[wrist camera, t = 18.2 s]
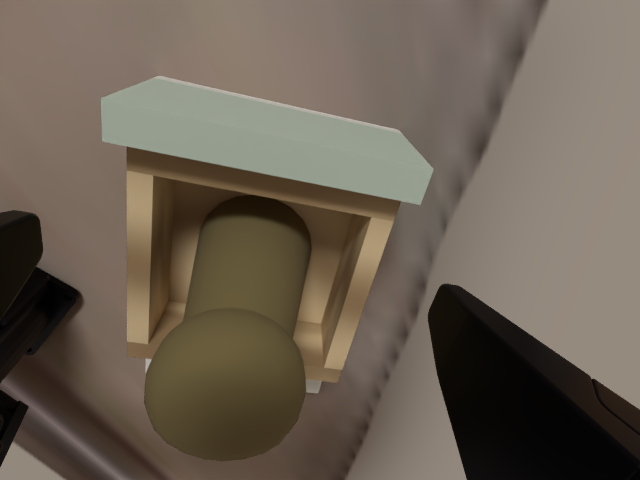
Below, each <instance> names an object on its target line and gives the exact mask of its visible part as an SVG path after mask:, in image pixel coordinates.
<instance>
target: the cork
mask: <svg viewBox="0 0 640 480" xmlns="http://www.w3.org/2000/svg"><path fill="white" fill-rule="evenodd" d="M311 251H312V246H311V237H310V233H309V231H308V229H307V227H306V224H305V222H304V220H303V219H302V218H301V217H300V216H299V215H298V214H297V213H296V212H295V211H294V210H293V209H292V208H291V207H290V206H288V205H286V204H284V203H282V202H280V201H278V200H277V199H273V198H268V197H263V196H258V195H246V196H236V197H234V198H232V199H229V200H227V201H225V202H222V203H220V204H219V205H218V206H217V207H216V208H214V209H213V210H212V211H211V212H210V213H209V214H208V215H207V217H206V219H205V221H204V222H203V224H202V226H201V228H200V232H199V238H198V243H197V248H196V254H195V259H194V264H193V270H192V275H191V280H190V286H189V291H188V296H187V302H186V307H185V312H184V318H183V321H182V322H181V323H180V324H179V325H177V326H176V327H175V328H174V329H172V330H171V331H170V332H169V334H168V335H167V336H166V337H165V338H164V339H163V340H162V342H161V343H160V345H159V347H158V349H157V351H156V353H155V354H154V356H153V358H152V360H151V362H150V365H149V367H148V369H147V372H146V380H145V396H144V404H145V407H146V410H147V413H148V416H149V419H150V421H151V423H152V425H153V428H154V430H155V431H156V432H157V433H158V434H159V435H160V436H161V437H162V438H163V439H164V440H165V441H166V442H167V443H168V444H170V445H171V446H173V447H175V448H177V449H179V450H180V451H182V452H184V453H187V454H190V455H193V456H196V457H200V458H203V459H209V460H219V461H227V460H238V459H246V458H249V457H253V456H256V455H259V454H262V453H265V452H266V451H268V450H270V449H271V448H273V447H274V446H276V445H278V444H279V443H280V442H281V441H282V440H283V438H284V437H285V436H286V435H287V434H288V433H289V431H290V430H291V429H292V427H293V426H294V425H295V423H296V422H297V420H298V417H299V414H300V411H301V408H302V404H303V401H304V397H305V394H306V377H305V370H304V362H303V359H302V356H301V353H300V350H299V348H298V346H297V345H296V343H295V341H294V340H293V336H294V331H295V326H296V322H297V317H298V312H299V308H300V303H301V298H302V293H303V289H304V284H305V279H306V274H307V270H308V265H309V260H310V255H311Z"/></svg>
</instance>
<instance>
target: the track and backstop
mask: <svg viewBox="0 0 640 480" xmlns="http://www.w3.org/2000/svg"><path fill="white" fill-rule="evenodd" d="M101 118H102V142H107V143H112V144H117V145H122V146H127V147H132V148H137V149H142V150H147V151H152V152H157V153H162V154H167V155H172V156H177V157H182V158H187V159H192V160H198V161H203V162H208V163H213V164H218V165H223V166H228V167H233V168H238V169H243V170H248V171H253V172H258V173H263V174H268V175H273V176H278V177H283V178H288V179H293V180H298V181H303V182H308V183H313V184H318V185H323V186H328V187H333V188H338V189H343V190H348V191H353V192H358V193H363V194H368V195H373V196H378V197H383V198H388V199H393V200H398V201H403V202H408V203H413V204H418V205H421V202H422V199H423V197H424V194H425V191H426V189H427V186H428V183H429V181H430V178H431V175H432V173H433V170H434V169H433V168H432V167H431V166H430V165H429V164H428V162H427V161H426V160H425V159H424V158H423V157H422V156H421V155H420V153H419V152H418V151H417V150H416V149H415V148H414V147H413V146H412V145H411V143H410V142H409V141H408V140H407V139H406V138H405V137H404V136H403V135H402V133H401V132H400V131H399V130H397V129H393V128H388V127H384V126H379V125H375V124H371V123H366V122H362V121H357V120H353V119H349V118H344V117H340V116H335V115H331V114H326V113H322V112H318V111H313V110H309V109H304V108H300V107H295V106H291V105H287V104H282V103H278V102H273V101H269V100H264V99H260V98H256V97H251V96H247V95H242V94H238V93H233V92H229V91H225V90H220V89H216V88H211V87H207V86H202V85H198V84H194V83H189V82H185V81H180V80H176V79H172V78H167V77H163V76H157V77H154V78H152V79H149V80H147V81H144V82H141V83H139V84H136V85H134V86H131V87H128V88H126V89H123V90H121V91H118V92H116V93H113V94H110V95H108V96H105V97H103V98H101ZM151 360H152V359H146V372H147V369H148V367H149V365H150V362H151ZM146 372H145V373H146ZM321 383H322V381H318V380H310V379H306V392H308V393H316V394H318V392H319V389H320V386H321Z"/></svg>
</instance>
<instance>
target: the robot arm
mask: <svg viewBox="0 0 640 480" xmlns="http://www.w3.org/2000/svg"><path fill="white" fill-rule="evenodd" d="M42 253H43V243H42V234H41V226H40V220H39V218H38V216H37V215H36V214H33V213H29V212H23V211H17V210H13V211H7V212H2V213H0V383H1V382H2V380H3V379H4V378H5V377H6V376H7V374H8V373H9V372H10V371H11V370H12V368H13V367H14V366H15V365H16V364H17V362H18V361H19V360H20V359H21V358H22V356H23V355H24V354H27V355H33V354H34V353H36V351H37V350H38V349H39V348H40V346H41V345H42V344H43V342H44V341H45V340H46V339H47V337H48V336H49V335H50V334H51V332H52V331H53V330H54V329H55V327H56V326H57V325H58V323H59V322H60V321H61V320H62V318H63V317H64V316H65V315H66V313H67V312H68V311H69V309H70V308H71V307H72V306H73V304H74V303H75V302H76V301H77V299H78V298H79V292H78V291H77V290H76V289H74V288H73V287H71V286H69V285H67V284H66V283H64V282H62V281H60V280H58V279H57V278H55V277H53V276H51V275H50V274H48V273H46V272H44V271H43V270H41V269H39V268H37V267H36V265H37V264H38V262H39V261H40V259H41V257H42ZM67 294H68V295H70V296H71V297H69V296H68V295H67ZM428 323H429V329H430V334H431V341H432V347H433V353H434V359H435V364H436V370H437V375H438V379H439V383H440V387H441V390H442V393H443V397H444V401H445V404H446V407H447V411H448V415H449V418H450V422H451V425H452V429H453V432H454V436H455V439H456V443H457V446H458V450H459V453H460V457H461V460H462V464H463V467H464V471H465V475H466V478H467V480H640V410H639V409H638V408H636V407H635V406H633V405H632V404H630V403H629V402H628V401H626V400H625V399H623V398H622V397H620V396H619V395H617V394H616V393H614V392H613V391H611V390H610V389H608V388H607V387H605V386H604V385H603V384H601V383H599V382H598V381H597V380H595V379H591V377H590V376H589V375H588V374H586V373H585V372H584V371H582V370H581V369H579V368H577V367H576V366H575V365H573V364H572V363H570V362H569V361H567V360H566V359H565V358H563V357H562V356H560V355H559V354H557V353H556V352H555V351H553V350H552V349H550V348H549V347H547V346H546V345H544V344H543V343H541V342H540V341H538V340H537V339H536V338H534V337H533V336H531V335H530V334H528V333H527V332H526V331H524V330H523V329H521V328H520V327H518V326H517V325H515V324H514V323H512V322H511V321H510V320H508V319H507V318H505V317H504V316H502V315H500V314H499V313H498V312H497V311H495V310H494V309H492V308H491V307H489V306H488V305H486V304H485V303H483V302H482V301H481V300H479V299H478V298H476V297H475V296H473V295H472V294H470V293H469V292H467V291H466V290H465V289H463V288H462V287H460V286H457V285H451V284H442V285H441V286H440V287H439V289H438V291H437V293H436V296H435V298H434V300H433V303H432V305H431V307H430V309H429V313H428ZM28 407H29V406H27V405H26V404H24V403H23V402H21V401H16V400H15V399H13V398H12V397H11V396H9V395H8V394H6V393H5V392H3V391H2V390H0V467H1V465H2V462H3V460H4V458H5V456H6V454H7V452H8V450H9V448H10V445H11V443H12V441H13V439H14V437H15V435H16V433H17V431H18V428H19V426H20V424H21V422H22V420H23V418H24V416H25V414H26V411H27V409H28Z"/></svg>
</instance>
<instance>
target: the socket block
mask: <svg viewBox="0 0 640 480" xmlns="http://www.w3.org/2000/svg"><path fill="white" fill-rule="evenodd" d="M246 195H258V196H263V197H268V198H273V199H277V200H278V201H280V202H282V203H284V204H286V205H288V206H290V207H291V208H292V209H293V210H294V211H295V212H296V213H297V214H298V215H299V216H300V217H301V218H302V219H303V220H304V222H305V224H306V227H307V229H308V231H309V233H310V237H311V246H312V251H311V255H310V260H309V265H308V270H307V274H306V279H305V284H304V289H303V293H302V298H301V303H300V308H299V312H298V317H297V322H296V326H295V331H294V336H293V340H294V341H295V343H296V345H297V346H298V348H299V350H300V353H301V356H302V359H303V362H304V370H305V377H306V379H310V380H318V381H326V382H334V383H338V380H339V377H340V374H341V372H342V369H343V366H344V363H345V360H346V357H347V354H348V351H349V349H350V346H351V343H352V340H353V337H354V334H355V331H356V329H357V326H358V323H359V320H360V317H361V314H362V311H363V308H364V306H365V303H366V300H367V297H368V294H369V291H370V288H371V285H372V283H373V280H374V277H375V274H376V271H377V268H378V265H379V262H380V260H381V257H382V254H383V251H384V248H385V245H386V242H387V239H388V237H389V234H390V231H391V228H392V225H393V222H394V219H395V216H396V214H397V211H398V208H399V205H400V202H401V201H398V200H393V199H388V198H383V197H378V196H373V195H368V194H363V193H358V192H353V191H348V190H343V189H338V188H333V187H328V186H323V185H318V184H313V183H308V182H303V181H298V180H293V179H288V178H283V177H278V176H273V175H268V174H263V173H258V172H253V171H248V170H243V169H238V168H233V167H228V166H223V165H218V164H213V163H208V162H203V161H198V160H192V159H187V158H182V157H177V156H172V155H167V154H162V153H157V152H152V151H147V150H142V149H137V148H132V147H127V356H130V357H138V358H145V359H152V358H153V356H154V354H155V353H156V351H157V349H158V347H159V345H160V343H161V342H162V340H163V339H164V338H165V337H166V336H167V335H168V334H169V332H170V331H171V330H172V329H174V328H175V327H176V326H177V325H179V324H180V323H181V322H182V321H183V318H184V312H185V307H186V302H187V296H188V291H189V286H190V280H191V275H192V270H193V264H194V259H195V254H196V248H197V243H198V238H199V232H200V228H201V226H202V224H203V222H204V221H205V219H206V217H207V215H208V214H209V213H210V212H211V211H212V210H213V209H214V208H216V207H217V206H218V205H219V204H220V203H222V202H225V201H227V200H229V199H232V198H234V197H236V196H246Z"/></svg>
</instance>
